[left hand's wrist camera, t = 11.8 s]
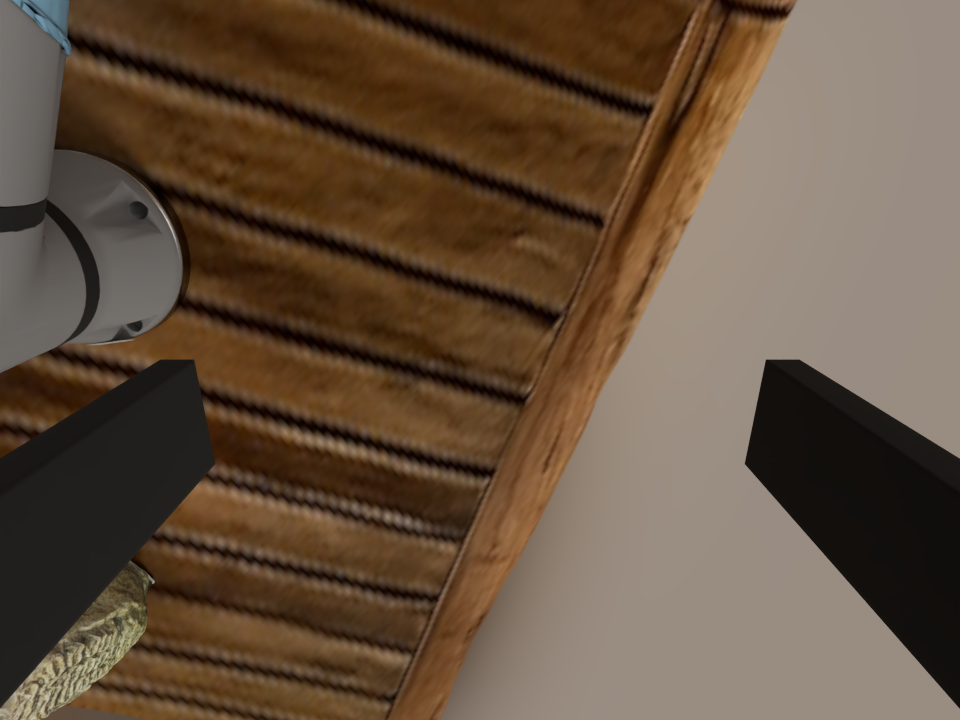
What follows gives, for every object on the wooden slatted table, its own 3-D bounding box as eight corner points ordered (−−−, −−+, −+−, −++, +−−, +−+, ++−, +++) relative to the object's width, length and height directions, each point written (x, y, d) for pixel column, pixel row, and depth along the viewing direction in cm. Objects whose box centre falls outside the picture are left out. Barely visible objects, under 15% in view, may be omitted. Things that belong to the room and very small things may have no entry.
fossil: (163, 616, 58) (61, 762, 44) (-14, 560, 55) (-182, 696, 41) (182, 557, 55) (80, 692, 41) (-3, 494, 52) (-181, 617, 38)
